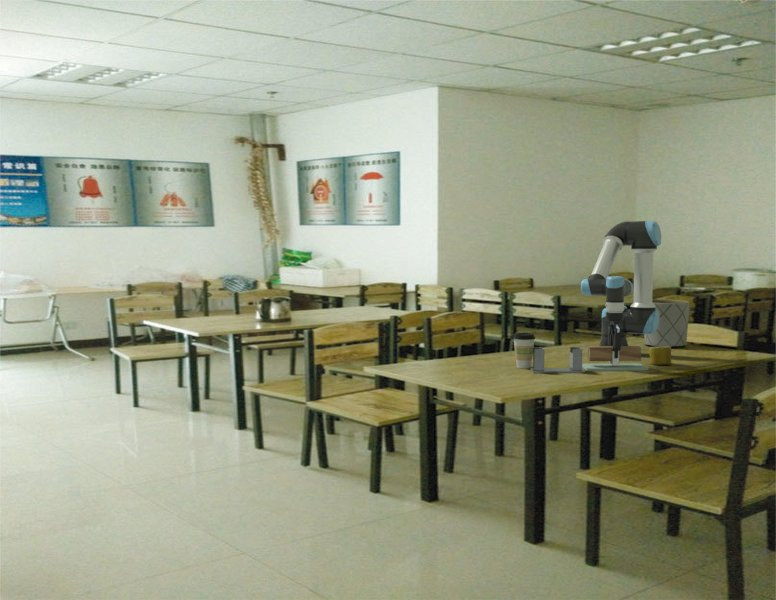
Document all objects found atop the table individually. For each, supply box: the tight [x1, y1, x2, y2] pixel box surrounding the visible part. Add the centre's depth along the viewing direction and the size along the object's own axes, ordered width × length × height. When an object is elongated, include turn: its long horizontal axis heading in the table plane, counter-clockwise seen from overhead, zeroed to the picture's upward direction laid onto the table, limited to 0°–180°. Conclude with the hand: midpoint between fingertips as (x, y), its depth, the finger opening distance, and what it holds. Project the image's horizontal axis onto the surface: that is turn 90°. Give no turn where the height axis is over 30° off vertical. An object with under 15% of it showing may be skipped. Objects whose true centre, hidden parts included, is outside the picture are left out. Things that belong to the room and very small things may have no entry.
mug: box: [648, 346, 672, 366], centre depth 341 cm, size 12×10×10 cm
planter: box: [643, 299, 690, 348], centre depth 394 cm, size 23×23×24 cm
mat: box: [582, 363, 649, 372], centre depth 332 cm, size 12×26×1 cm, turn 87°
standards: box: [529, 346, 586, 374], centre depth 326 cm, size 8×22×10 cm, turn 87°
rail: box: [587, 345, 642, 362], centre depth 331 cm, size 4×22×6 cm, turn 87°
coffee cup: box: [512, 332, 536, 370], centre depth 336 cm, size 10×10×15 cm
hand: (614, 364), depth 332 cm, fingers closed on rail, 4 cm apart
